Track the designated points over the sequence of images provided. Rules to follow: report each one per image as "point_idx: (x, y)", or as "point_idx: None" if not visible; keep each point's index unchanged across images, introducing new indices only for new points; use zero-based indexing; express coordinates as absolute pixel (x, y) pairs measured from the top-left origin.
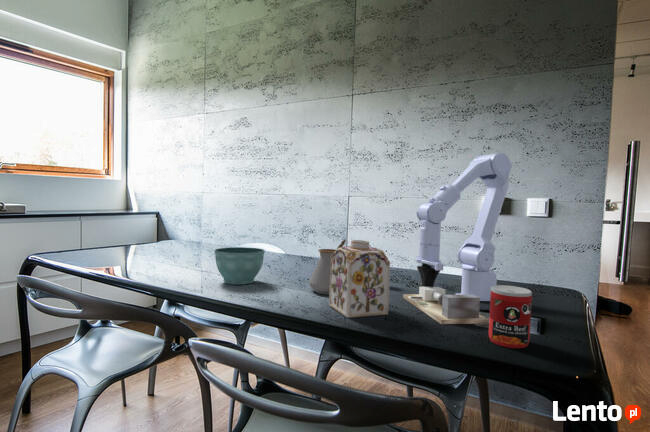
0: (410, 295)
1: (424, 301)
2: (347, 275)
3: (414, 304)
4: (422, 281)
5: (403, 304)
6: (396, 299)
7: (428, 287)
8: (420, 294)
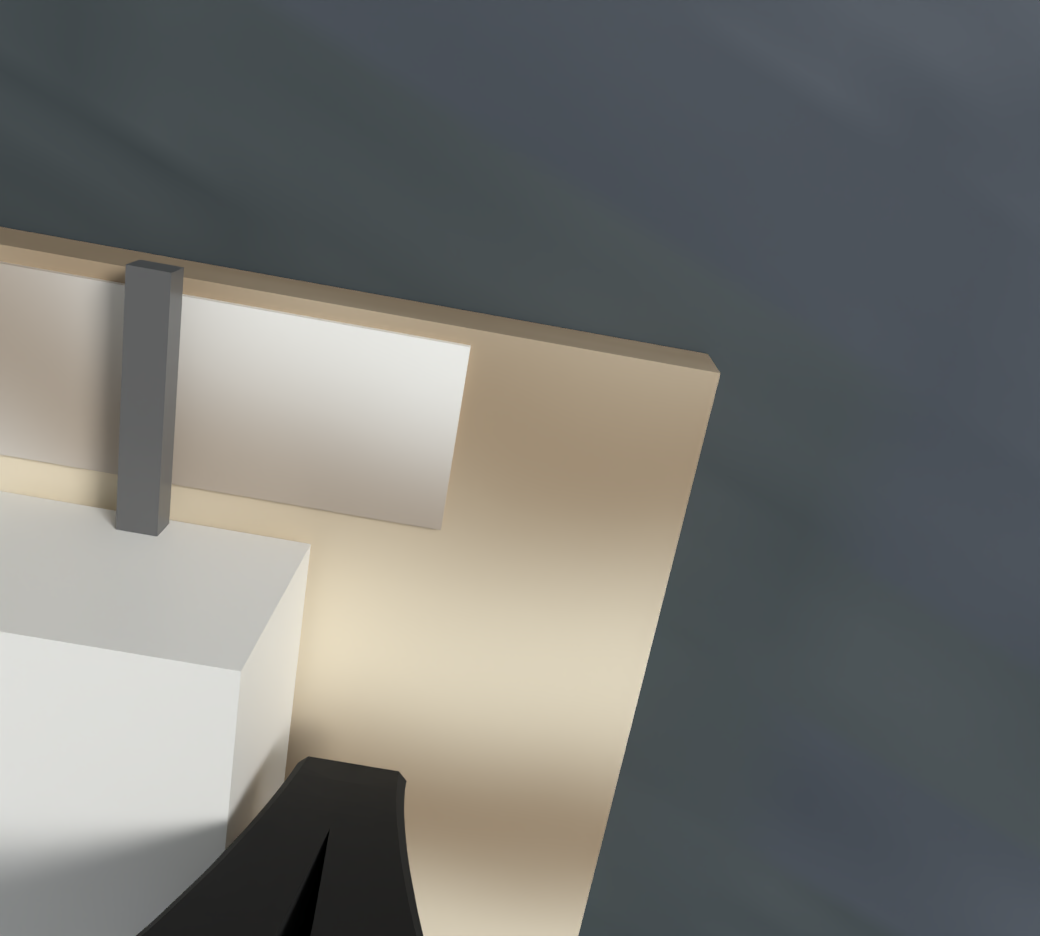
0: (572, 482)
1: (19, 488)
2: None
3: (12, 233)
4: (341, 906)
5: (144, 27)
6: (603, 106)
7: (128, 843)
8: (204, 564)
